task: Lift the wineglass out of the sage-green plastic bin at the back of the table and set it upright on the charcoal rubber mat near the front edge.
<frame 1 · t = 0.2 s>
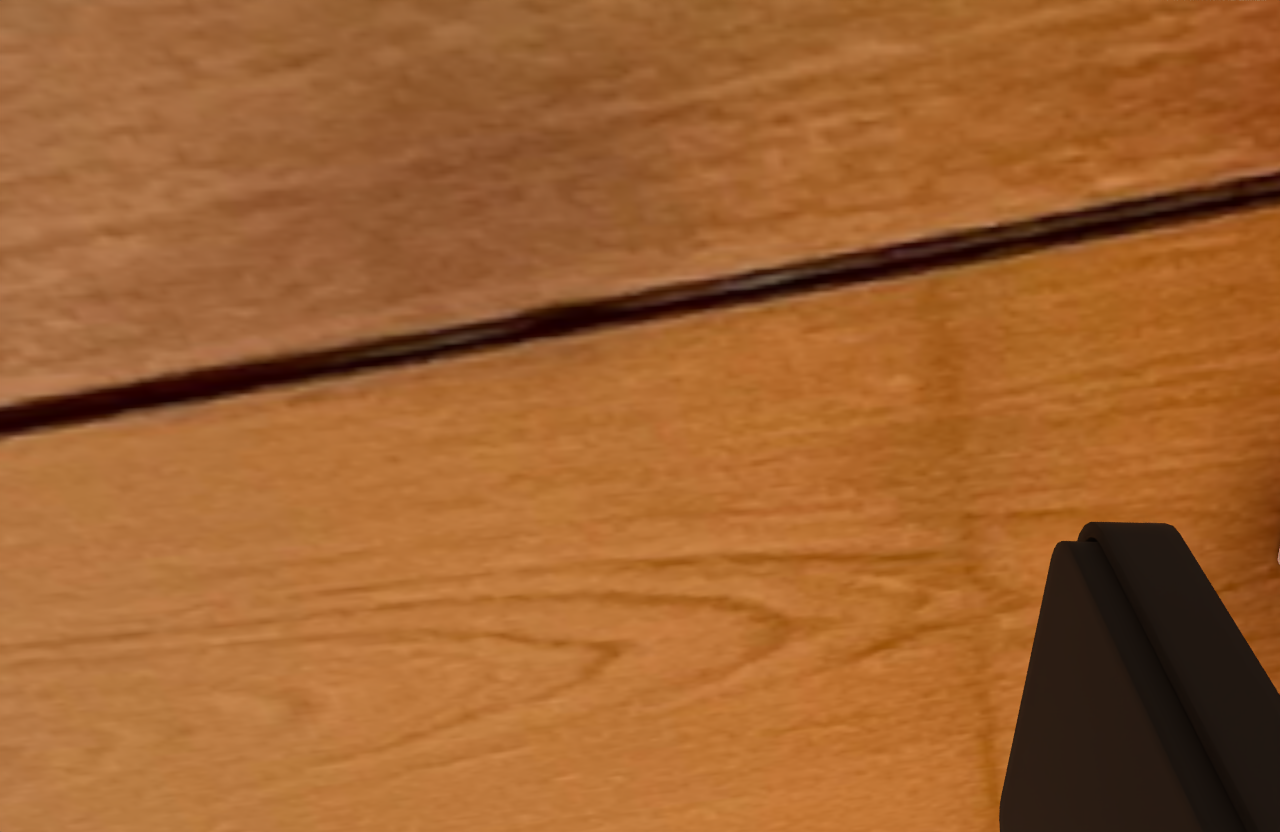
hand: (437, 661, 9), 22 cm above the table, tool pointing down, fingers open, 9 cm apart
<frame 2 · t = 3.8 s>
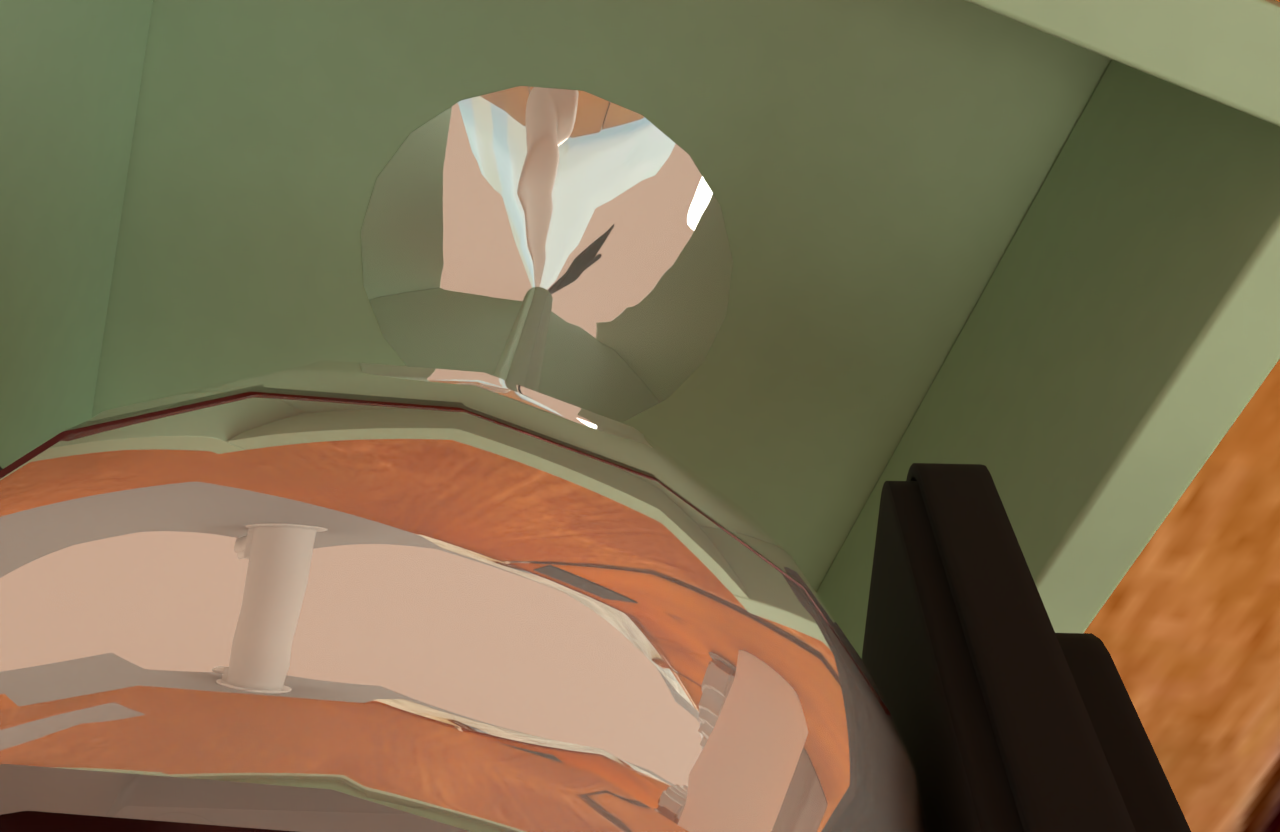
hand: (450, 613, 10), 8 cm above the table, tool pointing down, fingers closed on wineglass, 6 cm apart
bin: (549, 261, 16), on the table
wineglass: (547, 267, 16), resting on bin, touching gripper
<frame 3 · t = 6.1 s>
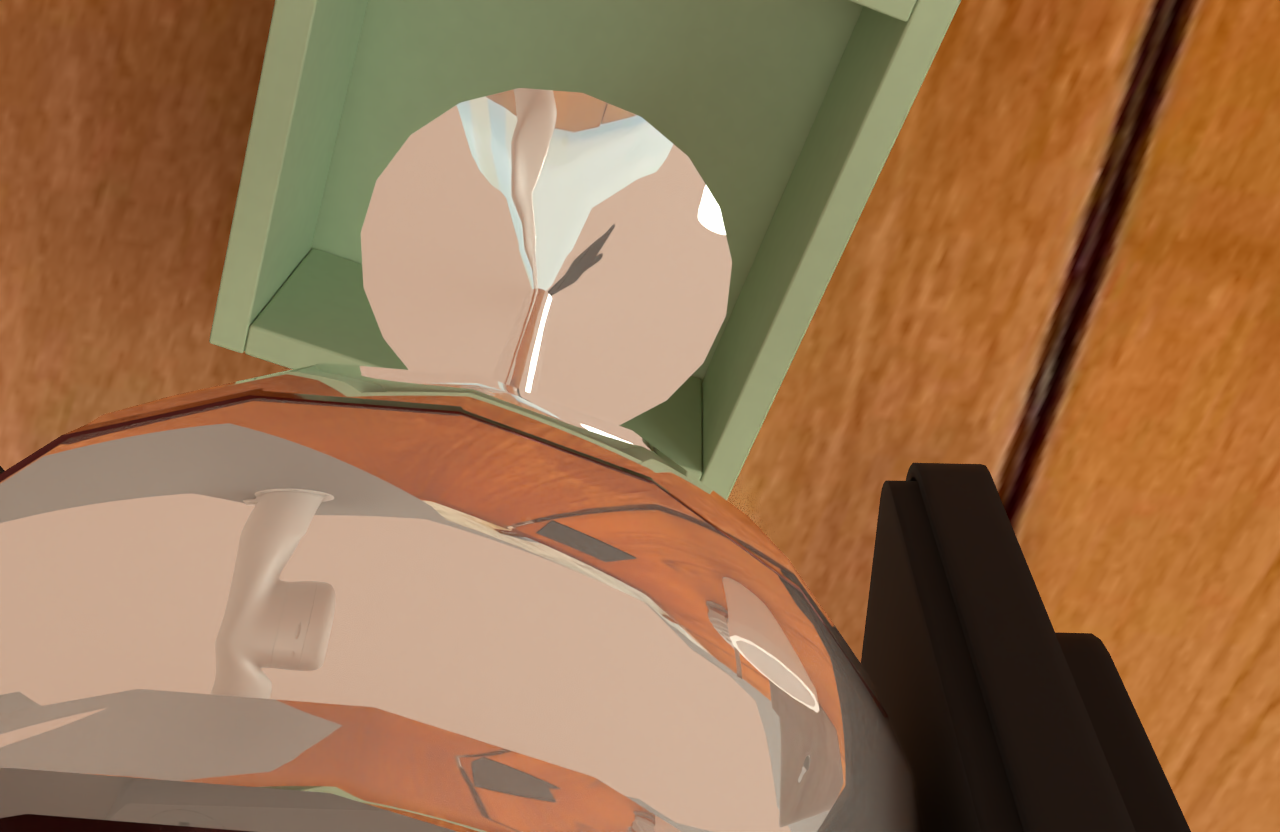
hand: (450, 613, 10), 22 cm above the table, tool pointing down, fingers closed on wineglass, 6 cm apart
bin: (576, 118, 30), on the table
wineglass: (547, 269, 16), point 15 cm above the table, touching gripper
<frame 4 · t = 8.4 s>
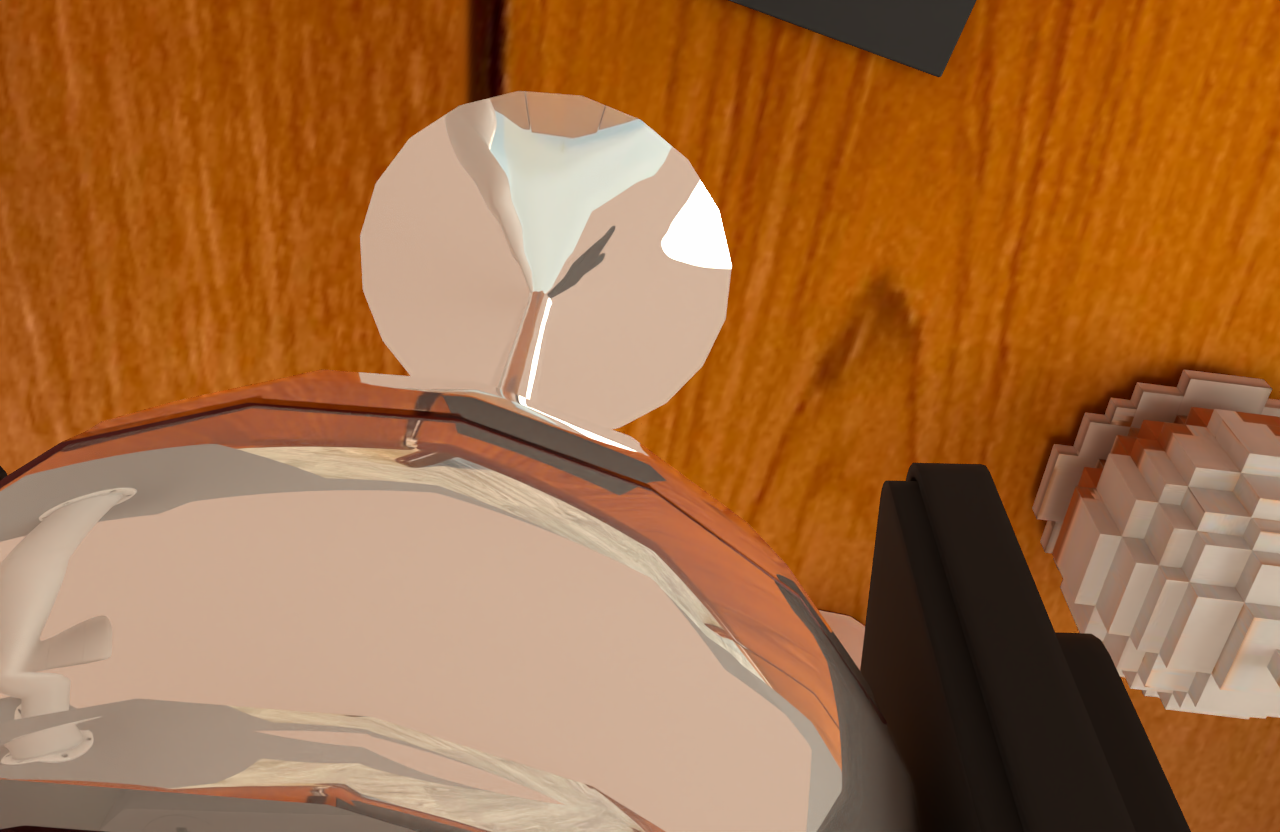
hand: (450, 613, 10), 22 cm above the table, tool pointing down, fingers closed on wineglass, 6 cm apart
foam cup: (801, 679, 39), on the table
wineglass: (546, 272, 16), point 15 cm above the table, touching gripper
decorative ornament: (1166, 478, 35), on the table
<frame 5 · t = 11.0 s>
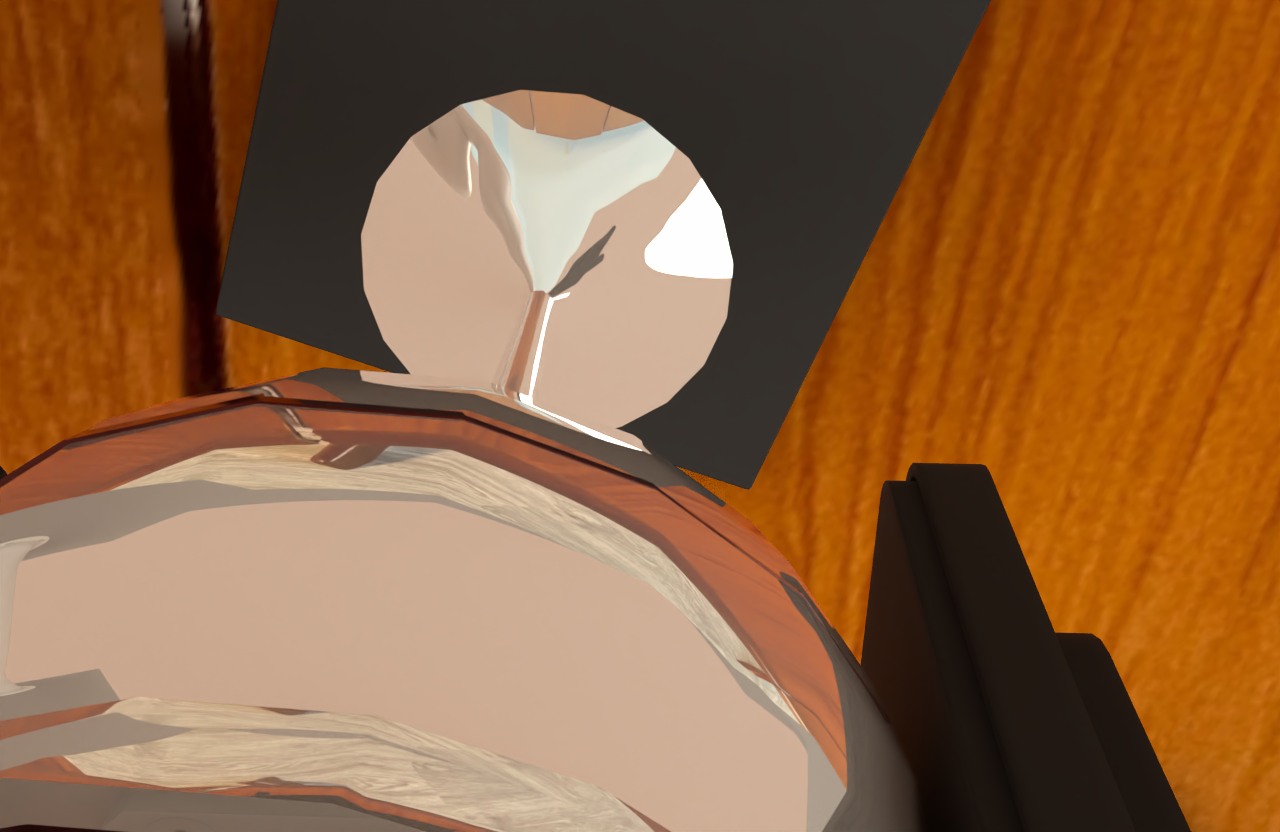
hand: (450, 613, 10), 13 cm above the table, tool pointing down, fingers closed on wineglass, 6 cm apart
mat: (581, 140, 21), on the table
wineglass: (547, 271, 16), point 6 cm above the table, touching gripper
when the fingers open (8 cm above the table, at t = 12.9 s): wineglass stays where it is, resting on mat.
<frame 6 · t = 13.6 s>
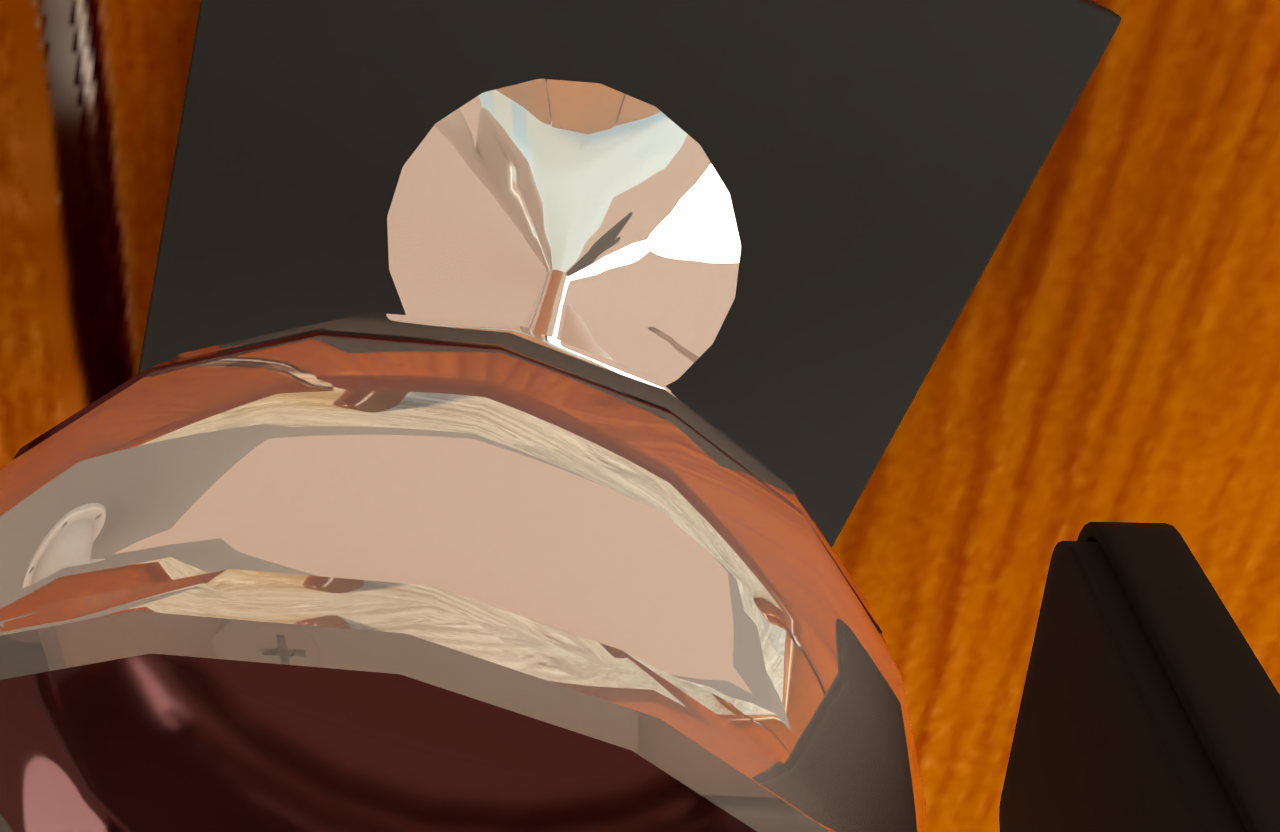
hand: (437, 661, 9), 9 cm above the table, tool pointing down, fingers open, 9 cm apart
mat: (570, 244, 17), on the table
wineglass: (564, 252, 17), resting on mat
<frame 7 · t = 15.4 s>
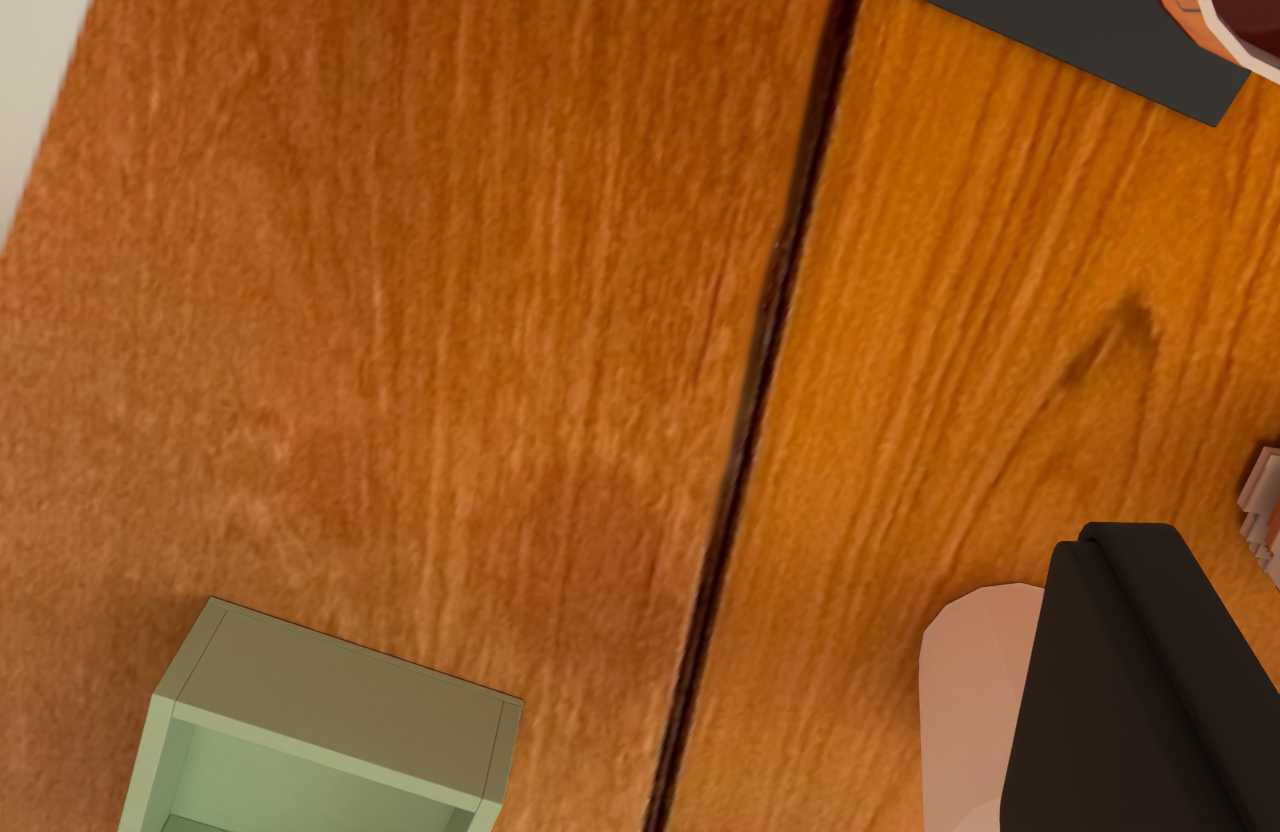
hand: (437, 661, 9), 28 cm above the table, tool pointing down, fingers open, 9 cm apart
bin: (330, 758, 49), on the table
foam cup: (1003, 647, 44), on the table
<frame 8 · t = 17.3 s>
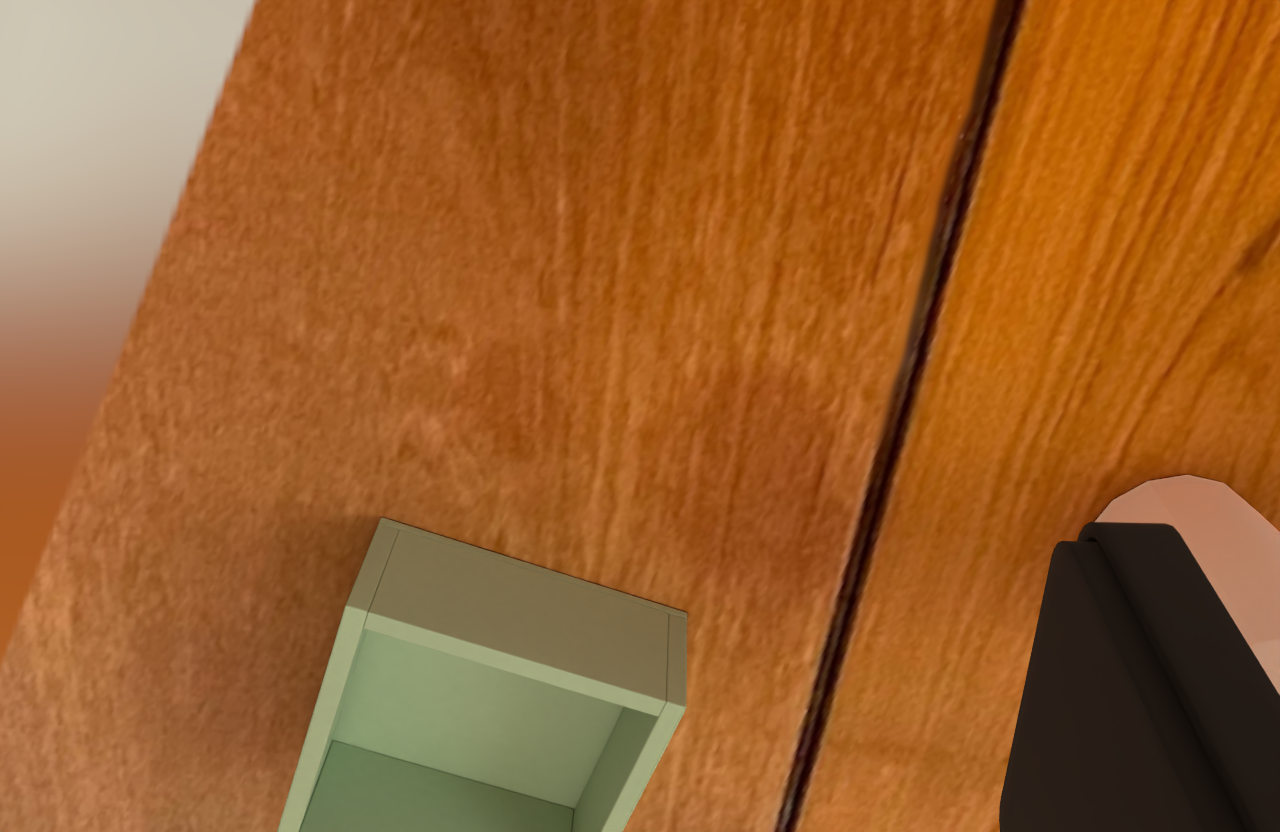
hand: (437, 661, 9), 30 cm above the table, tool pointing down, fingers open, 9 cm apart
bin: (492, 679, 49), on the table
foam cup: (1166, 542, 45), on the table
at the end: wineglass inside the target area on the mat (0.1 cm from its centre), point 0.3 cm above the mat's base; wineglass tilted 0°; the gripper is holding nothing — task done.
